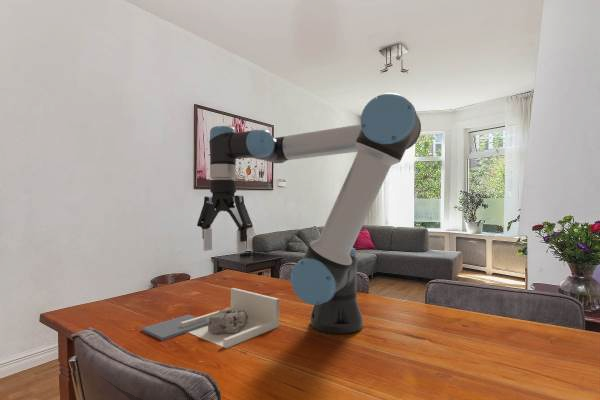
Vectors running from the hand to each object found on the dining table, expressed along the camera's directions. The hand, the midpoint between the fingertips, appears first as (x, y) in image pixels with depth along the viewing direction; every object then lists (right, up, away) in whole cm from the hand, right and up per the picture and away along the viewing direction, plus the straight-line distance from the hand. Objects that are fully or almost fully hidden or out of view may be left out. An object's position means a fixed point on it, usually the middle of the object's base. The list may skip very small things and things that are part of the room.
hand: (223, 251), depth 103 cm
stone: (+2, -21, -4) cm, 22 cm away
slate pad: (-13, -21, -3) cm, 25 cm away
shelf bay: (+2, -21, -4) cm, 22 cm away
